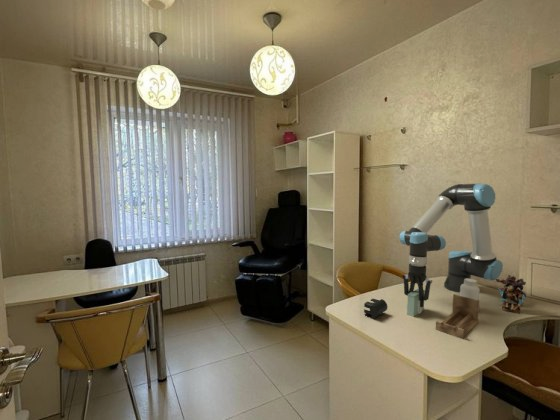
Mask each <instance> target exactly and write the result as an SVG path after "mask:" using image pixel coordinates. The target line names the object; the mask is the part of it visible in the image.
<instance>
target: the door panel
mask: <svg viewBox="0 0 560 420" xmlns="http://www.w3.org/2000/svg"><path fill="white" fill-rule="evenodd" d="M423 290H424V294H425V289H423ZM419 299H420V297H419V288H417V289H414V291H413V292H411V293H409V294H408V296H407V304H406V305H407V306H406V307H407V308H406V311H407V312H406V315H407V316H410V317H413V318H414V317H415V316H417V315H419V314H418V300H419ZM424 310H425V305H424V306H423V307H422V311H424ZM422 311H421V312H422Z"/></svg>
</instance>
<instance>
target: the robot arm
mask: <svg viewBox="0 0 560 420" xmlns="http://www.w3.org/2000/svg"><path fill="white" fill-rule="evenodd" d="M495 203H496V193H495V190H494V188H493V187H492V186H491V185H490V184H487V183H458V184H454V185H451V186H449V187H448V188H446V189H445V190H443V191H442V192H441V193H440V194H439V195H438V196H437V197H436V198H435V202H434V203H433V204H432V205H430V207H429V208H428V209H427V210H426V212H424V214H423V215H422V216H421V217H420V218H419V219H418V220H416V222H415V223H414V225H413V226H412V227H411V228H410V229H409V230H403V231H401V232H400V234H399V242H400V243H401V244H402V245H405V246H408V247H409V255H408V256H409V258H408V259H409V260H408V272H407V274H406V273H405V274H403V275H401V276H402V278H403V279H402V280H403V291H404V295H405V296H406V297H408V294H409V293H411V292H413V291H415V286H416V284H417V287H418V288H417V289H419V297H420V299H419V300H418V314H417V315H420V314H421V313H422V307H423V306H424V307H425V301H427V300H429V297H430V291H431V285H432V283H433V280H432V279H429V278H427V261H428V260H427V259H428V258H427V255H428V252H438V251H441V250H443V249H445V248H446V245H447V241H446V239H445V237H443V235H438V234H434V235H431V234H428V232H429V231H430V230H432V228H433V227H434V225H436V223H437V222H438V221H439V220H440V219H441V218H442V217H443V216H444V215H445V213H446V212H447V211H448V210H451V209H452V208H454V207H455V206H463V207H464V211H465V212H467V213H468V220H469V229H470V230H469V231H470V238H471V244H472V245H471V246H472V251H470V250H452V251H450V252H449V254H448V264H447V265H448V267H447V270H448V271H447V276H446V278H445V280H444V283H443V287H444V288H445V289H447V290H449V291H453V292H457V293H460V286H461V285H462V284H464V279H466V278H468V279H472V278H471V277H472V276H473V277H477V278H480V279H484V280H488V281H496V279H499V277H500V276H501V274H502V272H503V269H504V268H503V266H504V265H503V261H501V260H499V259H497V255H496V253H495V252H493V247H492V246H493V245H492V238H491V230H490V229H491V228H490V219H489V210H490V209H491V206H493V205H494V204H495ZM409 280H410V282H409ZM424 282H425V288H424ZM409 284H410V286H409ZM424 290H425V294H424Z"/></svg>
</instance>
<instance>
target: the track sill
mask: <svg viewBox="0 0 560 420" xmlns="http://www.w3.org/2000/svg"><path fill="white" fill-rule="evenodd" d="M451 311H452V313H451V314H449V316H447V317H446V318H445V319H443V321H439V320H436V321H435V330H437V331H438V332H442V333H445V334H448V335H449V336H454V337H456V338H458V339H462V340H463V339H464V338H465V337H466V336H467V334H469V332H471V330H473V328H474V327H475V326H476V325H477V323H479V311H480V299H479V300H475V299H471V298H467V297H463V296H460V294H459V295H458V294H453V296H452V310H451Z"/></svg>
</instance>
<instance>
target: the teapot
mask: <svg viewBox="0 0 560 420" xmlns="http://www.w3.org/2000/svg"><path fill="white" fill-rule="evenodd" d="M497 289H498V290H499V294H500V295H501V297H502V296H503V291H501V288H499V287H497ZM525 299H526V298H525V296H524V295H523V296H522V299H519V303H518V304H519V305H520V306H521V305H522V304H524V300H525ZM504 300H505V299H502V298H501V302H503V301H504Z"/></svg>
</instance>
